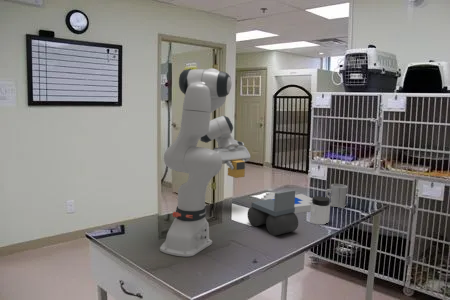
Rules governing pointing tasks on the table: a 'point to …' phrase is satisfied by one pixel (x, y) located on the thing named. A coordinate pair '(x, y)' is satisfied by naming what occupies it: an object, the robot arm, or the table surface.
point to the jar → (320, 210)
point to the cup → (337, 195)
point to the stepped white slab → (300, 204)
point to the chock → (237, 169)
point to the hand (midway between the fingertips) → (238, 168)
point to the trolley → (275, 213)
